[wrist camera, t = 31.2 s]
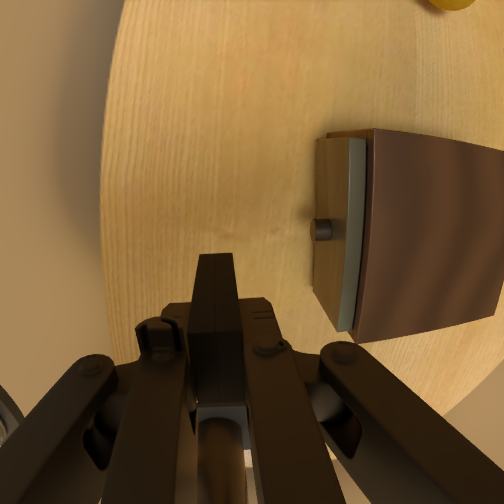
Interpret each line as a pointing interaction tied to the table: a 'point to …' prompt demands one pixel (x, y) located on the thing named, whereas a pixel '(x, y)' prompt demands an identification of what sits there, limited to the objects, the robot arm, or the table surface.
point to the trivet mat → (227, 415)
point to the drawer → (339, 226)
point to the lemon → (451, 4)
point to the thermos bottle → (221, 463)
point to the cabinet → (428, 234)
